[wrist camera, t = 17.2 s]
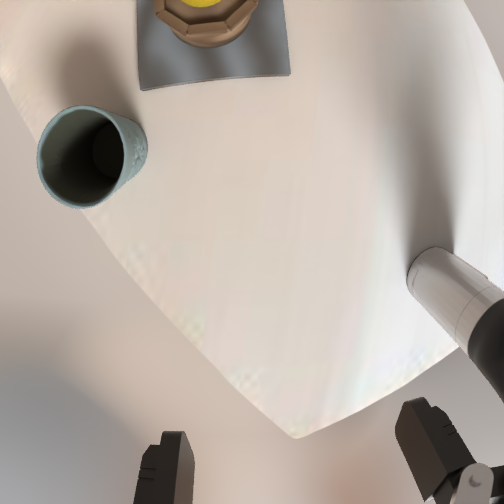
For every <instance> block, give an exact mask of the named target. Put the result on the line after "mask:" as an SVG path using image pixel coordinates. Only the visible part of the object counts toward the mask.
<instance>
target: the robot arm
mask: <svg viewBox="0 0 504 504" xmlns="http://www.w3.org/2000/svg"><path fill="white" fill-rule="evenodd" d="M407 285H408V289H409V291H410V293H411V294H412V296H413V297H414V298H415V299H416V300H417V301H418V302H419V303H420V304H421V305H422V306H423V307H424V308H425V309H426V310H427V311H428V313H429V314H430V315H431V316H432V317H433V318H434V319H435V320H436V321H437V322H438V323H439V324H440V325H441V326H442V328H443V329H444V330H445V331H446V332H447V333H448V334H449V335H450V336H451V337H452V338H453V340H454V341H455V342H456V343H457V344H458V345H459V346H460V347H461V348H462V350H463V351H464V352H465V353H466V354H467V355H468V356H469V357H470V359H471V360H472V361H473V362H474V363H475V364H476V366H477V367H478V369H479V370H480V371H481V372H482V374H483V375H484V376H485V378H486V379H487V380H488V381H489V382H490V384H491V385H492V387H493V388H494V389H495V391H496V392H497V394H498V395H499V397H500V398H501V399H502V401H503V403H504V291H503V290H501V289H500V288H498V287H497V286H496V285H494V284H493V283H492V282H490V281H489V280H488V278H487V276H485V275H484V274H483V273H481V272H480V271H478V270H477V269H475V268H474V267H473V266H471V265H470V264H468V263H467V262H465V261H464V260H462V259H461V258H459V257H458V256H456V255H455V254H451V253H449V252H448V251H446V250H444V249H442V248H439V247H434V248H430V249H427V250H426V251H424V252H422V253H421V254H420V255H419V256H418V257H417V258H416V259H415V261H414V262H413V264H412V265H411V268H410V270H409V273H408V277H407ZM395 435H396V439H397V441H398V443H399V445H400V447H401V450H402V452H403V454H404V456H405V458H406V461H407V463H408V465H409V467H410V469H411V472H412V474H413V477H414V479H415V481H416V483H417V486H418V488H419V490H420V492H421V495H422V497H423V500H424V502H427V501H429V500H432V499H434V500H435V502H436V504H504V465H503V466H498V467H492V468H489V467H488V466H486V465H484V464H481V463H477V462H476V461H475V460H474V459H473V457H472V455H471V453H470V452H469V450H468V448H467V447H466V445H465V443H464V442H463V440H462V438H461V437H460V435H459V433H457V430H456V429H455V427H454V425H452V422H451V420H450V419H449V417H448V416H447V414H446V413H445V412H444V411H442V410H441V409H440V408H438V407H437V406H434V407H431V406H430V405H429V403H428V402H427V400H426V399H425V398H424V397H420V398H416V399H413V400H409V401H406V402H404V403H403V406H402V409H401V412H400V414H399V417H398V420H397V423H396V426H395ZM194 469H195V461H194V455H193V451H192V449H191V446H190V444H189V441H188V439H187V436H186V434H185V432H184V431H164V432H163V433H162V436H161V442H160V445H150V446H149V447H148V449H147V450H146V451H145V453H144V454H143V456H142V461H141V466H140V471H139V476H138V478H139V479H138V481H137V486H136V492H135V497H134V503H133V504H192V500H193V485H194Z"/></svg>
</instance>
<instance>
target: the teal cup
mask: <svg viewBox="0 0 504 504" xmlns="http://www.w3.org/2000/svg"><path fill="white" fill-rule="evenodd" d="M147 152H148V144H147V139H146V136H145V134H144V132H143V130H142V129H141V127H140V126H139V125H138V124H137V123H135V122H134V121H132V120H130V119H128V118H125V117H122V116H119V115H117V114H114V113H111V112H108V111H106V110H103V109H101V108H98V107H95V106H90V105H78V106H73V107H69V108H67V109H65V110H63V111H61V112H60V113H58V114H57V115H56V116H55V117H54V118H53V119H52V120H51V121H50V122H49V123H48V125H47V126H46V128H45V129H44V131H43V133H42V135H41V138H40V141H39V144H38V150H37V168H38V173H39V176H40V179H41V181H42V183H43V185H44V187H45V189H46V190H47V191H48V193H49V194H50V195H51V196H52V197H53V198H54V199H55V200H57V201H58V202H60V203H62V204H63V205H66V206H68V207H71V208H75V209H85V208H90V207H94V206H96V205H99V204H101V203H102V202H104V201H106V200H107V199H108V198H109V197H110V196H111V195H112V194H113V193H114V192H116V191H117V190H118V189H119V188H120V187H121V186H122V185H124V184H125V183H126V182H127V181H129V180H130V179H131V178H133V177H134V176H135V175H136V174H137V173H138V172H139V171H140V170H141V168H142V167H143V165H144V163H145V160H146V157H147Z"/></svg>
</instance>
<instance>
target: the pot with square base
mask: <svg viewBox="0 0 504 504" xmlns="http://www.w3.org/2000/svg"><path fill="white" fill-rule="evenodd" d="M137 34H138V63H139V81H140V90H142V91H146V90H152V89H157V88H163V87H169V86H176V85H182V84H190V83H197V82H206V81H215V80H225V79H237V78H251V77H271V76H289V75H290V74H291V72H290V61H289V51H288V41H287V31H286V22H285V13H284V5H283V0H221V1H220V2H218V3H216V4H214V5H211V6H208V7H193V6H190V5H187V4H186V3H184V2H182V1H181V0H137Z"/></svg>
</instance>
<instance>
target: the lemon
mask: <svg viewBox="0 0 504 504" xmlns="http://www.w3.org/2000/svg"><path fill="white" fill-rule="evenodd" d="M181 1H182V2H184V3H186V4H187V5H190V6H193V7H208V6H211V5H214V4H216V3H218V2H220V1H221V0H181Z"/></svg>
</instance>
